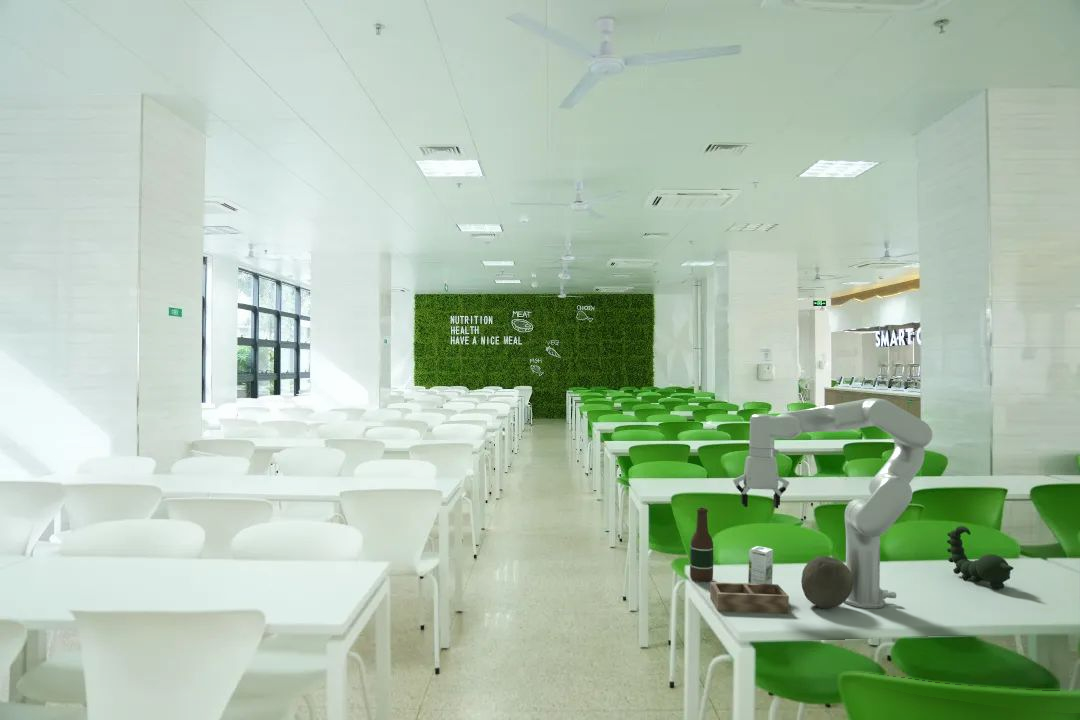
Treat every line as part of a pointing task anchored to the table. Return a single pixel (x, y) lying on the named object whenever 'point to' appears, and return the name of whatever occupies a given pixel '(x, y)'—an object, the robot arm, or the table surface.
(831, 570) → the cantaloupe
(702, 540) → the beer bottle
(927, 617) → the table surface
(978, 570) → the toy figurine
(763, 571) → the syrup box
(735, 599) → the slot rack
